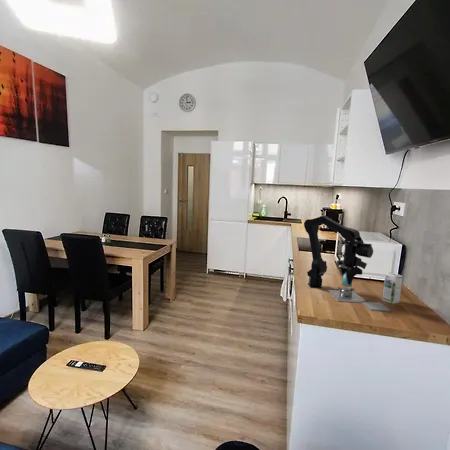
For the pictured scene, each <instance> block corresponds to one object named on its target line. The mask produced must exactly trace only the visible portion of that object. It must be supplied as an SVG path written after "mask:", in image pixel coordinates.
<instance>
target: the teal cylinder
mask: <svg viewBox="0 0 450 450" xmlns="http://www.w3.org/2000/svg"><path fill="white" fill-rule="evenodd" d="M341 281H342V282H341V285H342V286H344V287H346V288H350V287H351V288H352V286H353V281H352V282H351V284H350V285H349V284H348V282H347V278H346V274H344V275H343V277H342V280H341Z"/></svg>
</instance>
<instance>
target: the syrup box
mask: <svg viewBox="0 0 450 450" xmlns="http://www.w3.org/2000/svg"><path fill="white" fill-rule="evenodd" d="M403 277H404V276H403V275H401V274H398V273H395V272H387V273H385V276H384V283H383V290H382V291H383V292H382V298H381V300H382V301H384V302H386V303H388V304H391V305H392V304H393V305H394V304H399V303H400V300H401V291H402V283H403Z"/></svg>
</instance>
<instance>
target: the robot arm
mask: <svg viewBox="0 0 450 450" xmlns="http://www.w3.org/2000/svg"><path fill="white" fill-rule="evenodd" d="M322 225H325V226H326V227H328V228H329V229H331V230H333V231H335V232H337V233H338V234H339V235H340V236H341V238H343V239H344V240H343V241H342V242H340V244H341V245H344V251H343V252H344V253H343V254H342V257H343V259H338V260H337V261H336V266H338V269H339V271H340V274H341V276H342V278H343V275H344V274H346V278H347V282H348V284H349V285H350V284H351V282H352V283H353V280H354V278H355V276H357V275H360V276H361V275H363V270H366V267H367V265H368V263H367V262H364V261H362V258H367V259H369V258H370V259H371V258H372V256H373V254H374V248H373V244H372V243H366V242H364V241H363V239H362V237H361V233H360V231H359V230H358V229H355V228H352V227H348V226H345V225H343V224H340V223H339V222H337V221H336V220H333V219H331V218H330V217H328V216H327V215H320V216H318V217H315V218H312V219H305V220H304V222H303V226H304V230H305V232H306V234H308V238H309V244H310V250H311V256H312V261H311V267H310V269H309V270H308V271H307V272H306V273H307V276H308V283H307V285H308V287H309V288H313V289H322V286H323V279H322V277H324V275H325V274H326V272H327V269H328V265H327V260H323V258H322V253H321V247H320V241H319V230H320V226H322ZM358 256H359V257H358ZM360 257H362V258H360ZM361 268H362V269H363V270H362V269H361Z"/></svg>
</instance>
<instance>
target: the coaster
mask: <svg viewBox="0 0 450 450" xmlns="http://www.w3.org/2000/svg"><path fill="white" fill-rule="evenodd" d="M362 304H363V305H364V306H365V307H367V308H368V309H369V310H370V311H377V312H378V311H379V312H391V310H392V309H390V308H389V307H387V306H385V305H384V304H382V302H370V301H365V302H363V303H362Z"/></svg>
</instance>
